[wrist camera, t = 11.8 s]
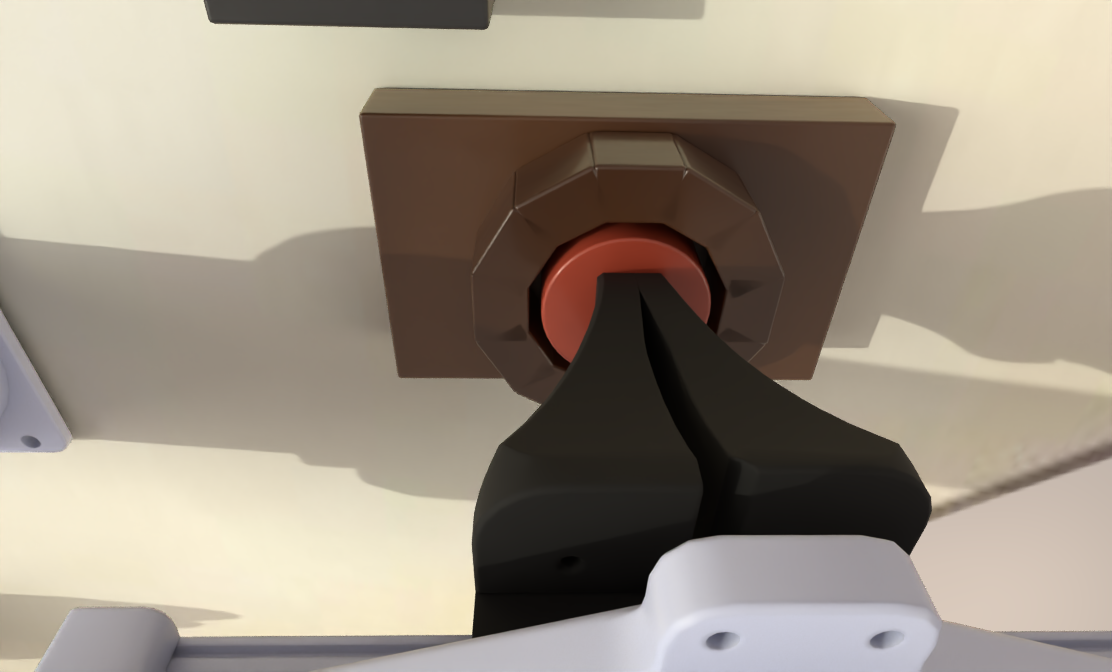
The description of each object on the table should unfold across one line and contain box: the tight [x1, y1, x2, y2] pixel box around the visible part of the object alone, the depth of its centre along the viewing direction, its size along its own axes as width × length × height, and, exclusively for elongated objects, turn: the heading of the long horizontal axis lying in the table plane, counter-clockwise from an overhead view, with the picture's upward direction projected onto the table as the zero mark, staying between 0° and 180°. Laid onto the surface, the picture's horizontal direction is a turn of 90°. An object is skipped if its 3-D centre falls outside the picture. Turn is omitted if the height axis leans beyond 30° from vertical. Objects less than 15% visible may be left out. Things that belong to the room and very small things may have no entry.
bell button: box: [541, 223, 711, 363], centre depth 15 cm, size 4×4×2 cm
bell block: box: [359, 88, 896, 404], centre depth 16 cm, size 11×7×4 cm, turn 88°
